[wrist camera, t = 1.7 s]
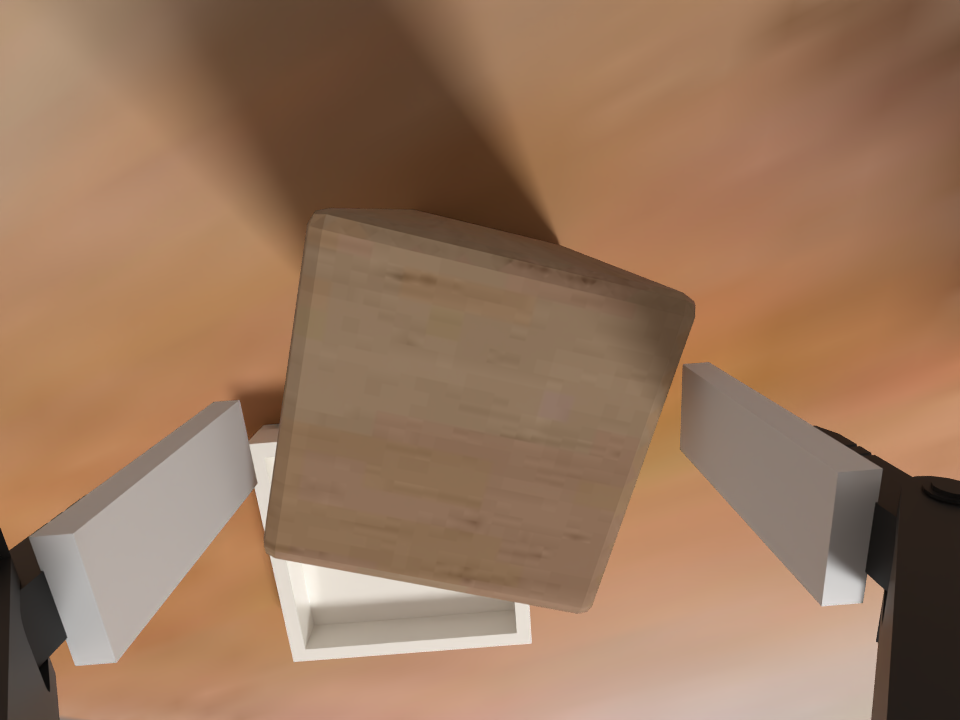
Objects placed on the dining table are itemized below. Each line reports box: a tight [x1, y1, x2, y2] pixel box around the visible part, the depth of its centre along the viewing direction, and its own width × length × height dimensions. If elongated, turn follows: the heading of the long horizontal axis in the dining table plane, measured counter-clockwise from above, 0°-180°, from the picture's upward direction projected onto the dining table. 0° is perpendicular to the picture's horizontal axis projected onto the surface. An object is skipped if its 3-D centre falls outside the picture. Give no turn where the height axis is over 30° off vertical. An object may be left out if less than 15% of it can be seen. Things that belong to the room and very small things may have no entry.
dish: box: [249, 424, 532, 662], centre depth 36 cm, size 17×17×3 cm
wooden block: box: [264, 208, 695, 614], centre depth 23 cm, size 10×10×20 cm
